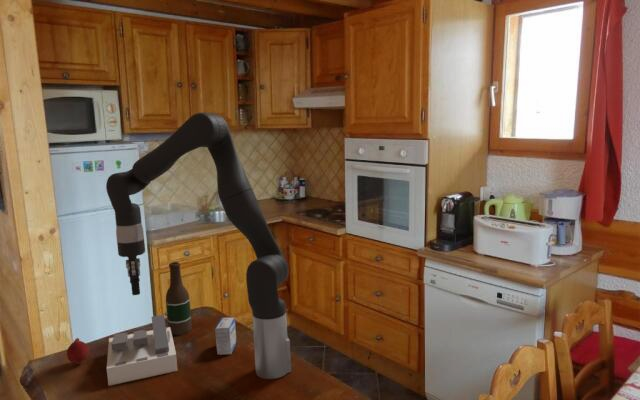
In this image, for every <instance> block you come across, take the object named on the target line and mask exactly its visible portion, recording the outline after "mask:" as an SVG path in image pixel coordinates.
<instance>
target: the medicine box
mask: <svg viewBox="0 0 640 400" xmlns="http://www.w3.org/2000/svg"><path fill="white" fill-rule="evenodd" d="M214 330H215V331H214V332H215V341H216V352H217V355H219V356H223V355H232V353H233V351H234V349H235V347H236V344H237V332H236V319H235V317H221V319H219V322H218V323H217V326H216V327H215V329H214Z"/></svg>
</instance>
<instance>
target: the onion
mask: <svg viewBox="0 0 640 400" xmlns="http://www.w3.org/2000/svg"><path fill="white" fill-rule="evenodd" d="M89 354H90V348H89V346H88V344H87V343H86V342H84V341H81V340H80V338H78V337H76V338H75V339H74V340H73V342H72V343H71V344H70V345H69V346H68V348H67V350H66V356H67V360H68V361H70V362H71V363H73V364H76V365H81V364H82V363H83V362H84V361H85V360H86V359H88V356H89Z"/></svg>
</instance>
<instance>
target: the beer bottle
mask: <svg viewBox="0 0 640 400" xmlns="http://www.w3.org/2000/svg"><path fill="white" fill-rule="evenodd" d="M181 266H182V265H181V263H180V262H179V261H173V262H170V263H169V264H168V267H169V280H170V281H169V287H168V289H167V291H166V294H165V308H166V316H167V317H166V319H167V327H170V329H171V333H172V336H183V335H186V334H188V333H189V332H191V331H192V327H193V325H192V314H191V301H190V294H189V292H188V289H187V288H186V287H185V286H184V284H183V281H182V273H181Z"/></svg>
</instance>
